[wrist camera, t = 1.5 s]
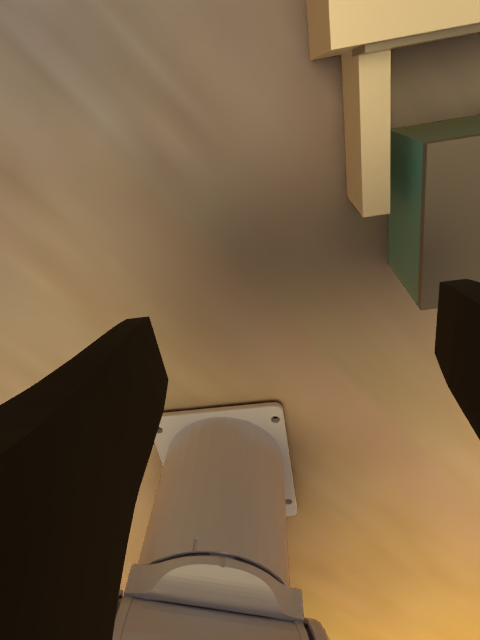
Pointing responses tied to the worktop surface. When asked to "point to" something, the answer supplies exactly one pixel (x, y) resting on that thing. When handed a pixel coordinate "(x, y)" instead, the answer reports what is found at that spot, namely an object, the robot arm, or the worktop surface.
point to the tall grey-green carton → (434, 206)
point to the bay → (377, 74)
